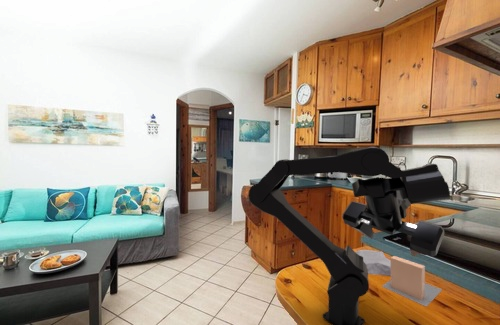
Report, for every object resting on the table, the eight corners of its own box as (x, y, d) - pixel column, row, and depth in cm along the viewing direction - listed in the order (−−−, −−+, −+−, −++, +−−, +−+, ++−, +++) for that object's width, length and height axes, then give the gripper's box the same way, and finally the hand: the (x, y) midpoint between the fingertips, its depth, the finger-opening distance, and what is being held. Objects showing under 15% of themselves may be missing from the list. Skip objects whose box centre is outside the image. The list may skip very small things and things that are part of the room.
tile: (421, 300, 54) (421, 268, 54) (390, 286, 60) (390, 257, 60) (424, 297, 56) (425, 265, 55) (394, 283, 61) (394, 255, 61)
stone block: (362, 281, 67) (398, 277, 65) (358, 265, 67) (394, 261, 65) (352, 263, 79) (382, 260, 77) (349, 250, 79) (379, 246, 77)
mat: (426, 307, 52) (426, 306, 52) (381, 287, 61) (381, 286, 61) (442, 290, 59) (442, 289, 59) (399, 274, 67) (399, 273, 67)
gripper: (452, 186, 42) (452, 235, 50) (356, 170, 57) (367, 209, 64) (433, 231, 38) (436, 277, 45) (334, 200, 52) (349, 239, 60)
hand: (391, 245), depth 54 cm, fingers open, 9 cm apart
